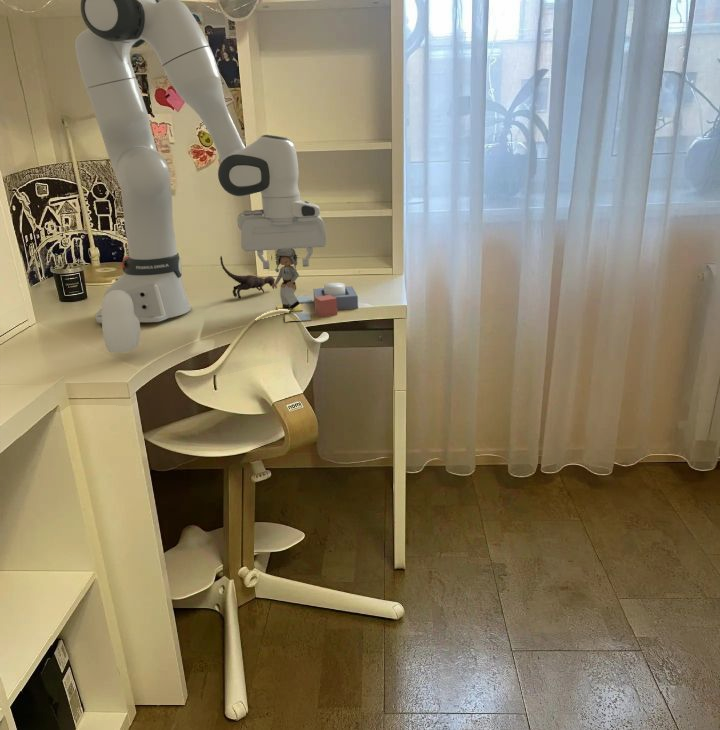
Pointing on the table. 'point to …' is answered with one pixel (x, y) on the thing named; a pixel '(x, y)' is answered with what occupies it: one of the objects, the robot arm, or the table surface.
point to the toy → (287, 277)
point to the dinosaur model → (248, 281)
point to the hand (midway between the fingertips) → (286, 267)
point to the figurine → (119, 322)
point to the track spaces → (304, 300)
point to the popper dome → (334, 289)
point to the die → (325, 305)
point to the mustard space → (296, 309)
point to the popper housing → (342, 298)
